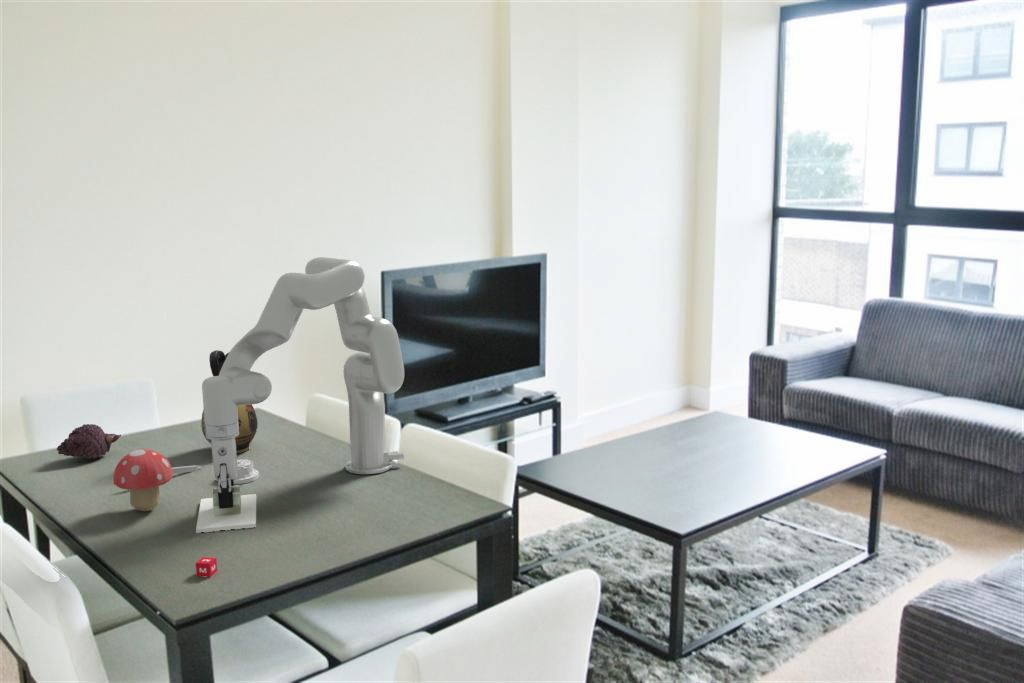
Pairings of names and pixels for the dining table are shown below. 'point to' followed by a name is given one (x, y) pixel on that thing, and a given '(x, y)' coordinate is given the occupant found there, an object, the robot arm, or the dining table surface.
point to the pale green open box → (236, 502)
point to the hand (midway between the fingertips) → (226, 501)
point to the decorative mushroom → (143, 477)
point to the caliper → (185, 469)
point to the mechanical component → (245, 472)
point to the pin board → (227, 516)
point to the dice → (206, 566)
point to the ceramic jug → (245, 412)
